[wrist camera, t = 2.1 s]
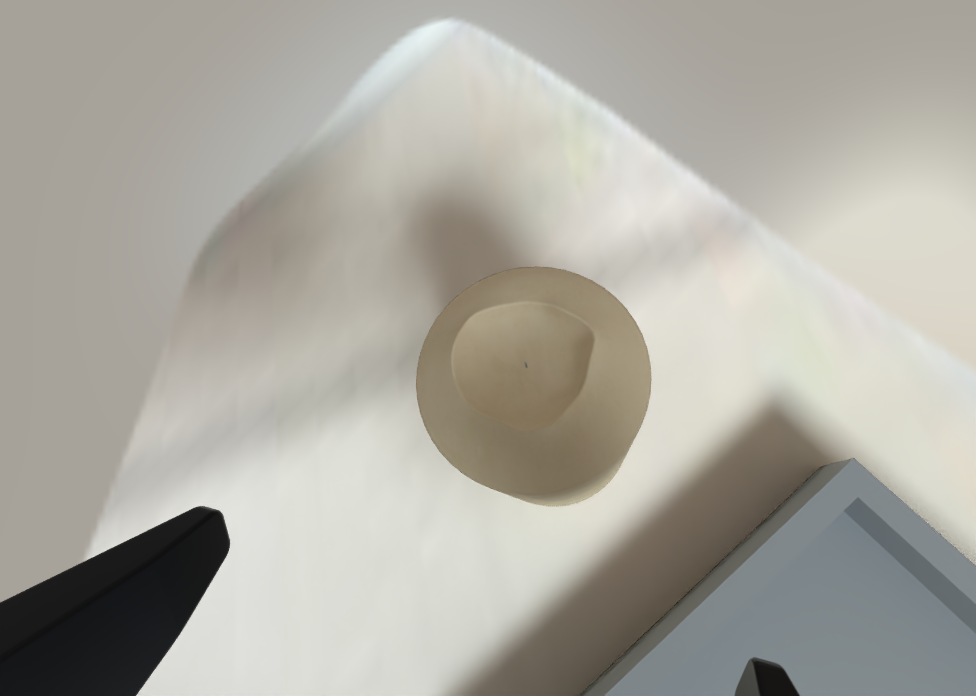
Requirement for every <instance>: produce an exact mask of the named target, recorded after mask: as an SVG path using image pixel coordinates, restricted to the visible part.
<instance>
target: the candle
mask: <svg viewBox="0 0 976 696" xmlns="http://www.w3.org/2000/svg"><path fill="white" fill-rule="evenodd" d="M416 388H417V400H418V405H419V409H420V414H421V417H422V419H423V422H424V425H425V428H426V430H427V432H428V434H429V435H430V437H431V439H432V441H433V442H434V444H435V445H436V447H437V448H438V450H439V451H440V453H441V454H442V455H443V456H444V457H445V458H446V459H447V460H448V461H449V462H450V463H451V464H452V465H453V466H454V467H455V468H457V469H458V470H459V471H460V472H461V473H463V474H464V475H466V476H467V477H469V478H471V479H472V480H474V481H476V482H478V483H480V484H482V485H484V486H487V487H489V488H491V489H494V490H496V491H499V492H502V493H504V494H507V495H510V496H512V497H515V498H518V499H521V500H523V501H526V502H529V503H533V504H536V505H543V506H566V505H571V504H575V503H578V502H581V501H583V500H586V499H588V498H590V497H591V496H593V495H595V494H596V493H598V492H599V491H600V490H601V489H603V488H604V487H605V486H606V485H607V484H608V483H609V482H610V481H611V479H612V478H613V477H614V476H615V474H616V473H617V471H618V470H619V468H620V466H621V464H622V462H623V460H624V459H625V457H626V455H627V453H628V451H629V449H630V447H631V445H632V443H633V441H634V439H635V437H636V435H637V433H638V431H639V429H640V427H641V425H642V422H643V419H644V417H645V414H646V411H647V408H648V403H649V398H650V392H651V366H650V359H649V355H648V350H647V346H646V344H645V341H644V338H643V335H642V333H641V331H640V329H639V327H638V326H637V324H636V322H635V320H634V319H633V317H632V316H631V314H630V313H629V312H628V310H627V309H626V308H625V307H624V306H623V305H622V304H621V302H620V301H619V300H618V299H617V298H616V297H615V296H613V295H612V294H611V293H610V292H608V291H607V290H606V289H605V288H603V287H602V286H600V285H598V284H597V283H595V282H593V281H592V280H590V279H587V278H585V277H583V276H581V275H578V274H575V273H572V272H569V271H566V270H561V269H555V268H548V267H525V268H517V269H512V270H507V271H504V272H500V273H497V274H494V275H492V276H489V277H487V278H485V279H482V280H480V281H479V282H477V283H475V284H474V285H472V286H470V287H468V288H467V289H466V290H464V291H463V292H462V293H461V294H459V295H458V296H457V297H456V298H455V299H454V300H453V301H451V302H450V303H449V304H448V305H447V306H446V308H445V309H444V310H443V311H442V313H441V314H440V315H439V316H438V318H437V319H436V321H435V322H434V324H433V326H432V327H431V329H430V331H429V333H428V335H427V337H426V339H425V341H424V344H423V347H422V350H421V353H420V357H419V362H418V368H417V380H416Z"/></svg>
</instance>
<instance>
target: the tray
mask: <svg viewBox="0 0 976 696" xmlns="http://www.w3.org/2000/svg"><path fill="white" fill-rule="evenodd" d="M753 657H756V658H760V659H764V660H767V661H771V662H775V663H777V664H779V665H781V666H782V667H783V668H784V669H785V671H786V672H787V674H788V676H789V677H790V679H791V681H792V682H793V684H794V686H795V688H796V689H797V691H798V693H799V694H800V696H976V566H975V565H974V564H973V563H972V562H971V561H969V560H968V559H967V558H966V557H965V556H964V555H963V554H962V553H960V552H959V551H958V550H957V549H956V548H955V547H954V546H952V545H951V544H950V543H949V542H948V541H947V540H946V539H945V538H943V537H942V536H941V535H940V534H939V533H938V532H937V531H936V530H934V529H933V528H932V527H931V526H930V525H929V524H928V523H926V522H925V521H924V520H923V519H922V518H921V517H920V516H919V515H917V514H916V513H915V512H914V511H913V510H912V509H911V508H910V507H908V506H907V505H906V504H905V503H904V502H903V501H902V500H900V499H899V498H898V497H897V496H896V495H895V494H894V493H893V492H891V491H890V490H889V489H888V488H887V487H886V486H885V485H883V484H882V483H881V482H880V481H879V480H878V479H877V478H876V477H874V476H873V475H872V474H871V473H870V472H869V471H868V470H867V469H865V468H864V467H863V466H862V465H861V464H860V463H859V462H857V461H856V460H855V459H854V458H853V459H849V460H845V461H841V462H837V463H833V464H829V465H825V466H821V467H820V468H819V469H818V470H817V471H816V472H815V473H814V474H813V475H812V476H811V477H810V478H809V479H808V480H807V481H806V482H804V483H803V484H802V485H801V486H800V487H799V488H798V489H797V490H796V491H795V492H794V493H793V494H792V495H791V496H790V497H789V498H788V499H787V500H785V501H784V502H783V503H782V504H781V505H780V506H779V507H778V508H777V509H776V510H775V511H774V512H773V513H772V514H771V515H770V516H769V517H768V518H766V519H765V520H764V521H763V522H762V523H761V524H760V525H759V526H758V527H757V528H756V529H755V530H754V531H753V532H752V533H751V534H750V535H748V536H747V537H746V538H745V539H744V540H743V541H742V542H741V543H740V544H739V545H738V546H737V547H736V548H735V549H734V550H733V551H732V552H731V553H729V554H728V555H727V556H726V557H725V558H724V559H723V560H722V561H721V562H720V563H719V564H718V565H717V566H716V567H715V568H714V569H713V570H712V571H710V572H709V573H708V574H707V575H706V576H705V577H704V578H703V579H702V580H701V581H700V582H699V583H698V584H697V585H696V586H695V587H694V588H693V589H691V590H690V591H689V592H688V593H687V594H686V595H685V596H684V597H683V598H682V599H681V600H680V601H679V602H678V603H677V604H676V605H675V606H674V607H672V608H671V609H670V610H669V611H668V612H667V613H666V614H665V615H664V616H663V617H662V618H661V619H660V620H659V621H658V622H657V623H656V624H655V625H653V626H652V627H651V628H650V629H649V630H648V631H647V632H646V633H645V634H644V635H643V636H642V637H641V638H640V639H639V640H638V641H637V642H636V643H634V644H633V645H632V646H631V647H630V648H629V649H628V650H627V651H626V652H625V653H624V654H623V655H622V656H621V657H620V658H619V659H618V660H617V661H615V662H614V663H613V664H612V665H611V666H610V667H609V668H608V669H607V670H606V671H605V672H604V673H603V674H602V675H601V676H600V677H599V678H598V679H596V680H595V681H594V682H593V683H592V684H591V685H590V686H589V687H588V688H587V689H586V690H585V691H584V692H583V693H582V694H581V695H580V696H735V691H736V688H737V685H738V683H739V681H740V678H741V676H742V674H743V671H744V669H745V667H746V665H747V662H748V661H749V659H751V658H753Z"/></svg>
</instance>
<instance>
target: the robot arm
mask: <svg viewBox="0 0 976 696" xmlns="http://www.w3.org/2000/svg"><path fill="white" fill-rule="evenodd" d="M229 548H230V539H229V535H228V531H227V527H226V524H225V520H224V516H223V514H222V513H221V512H220V511H219V510H216V509H212V508H209V507H205V506H199V507H195V508H193V509H191V510H189V511H187V512H185V513H183V514H181V515H179V516H176V517H174V518H172V519H170V520H168V521H166V522H164V523H162V524H160V525H158V526H156V527H154V528H152V529H150V530H148V531H146V532H144V533H142V534H140V535H138V536H136V537H134V538H131V539H129V540H127V541H125V542H123V543H121V544H119V545H117V546H115V547H113V548H111V549H109V550H107V551H105V552H103V553H101V554H99V555H97V556H95V557H93V558H91V559H88V560H86V561H84V562H82V563H80V564H78V565H76V566H74V567H72V568H70V569H68V570H66V571H64V572H62V573H60V574H58V575H56V576H54V577H52V578H50V579H48V580H46V581H43V582H42V583H39V584H37V585H35V586H33V587H31V588H29V589H27V590H25V591H23V592H21V593H19V594H17V595H15V596H13V597H11V598H9V599H7V600H5V601H3V602H1V603H0V696H136V695H137V694H138V692H139V691H140V689H141V688H142V687H143V685H144V684H145V682H146V681H147V680H148V678H149V677H150V676H151V674H152V673H153V671H154V670H155V669H156V667H157V666H158V664H159V663H160V662H161V660H162V659H163V657H164V656H165V655H166V653H167V652H168V650H169V649H170V648H171V646H172V645H173V643H174V642H175V640H176V639H177V638H178V636H179V635H180V633H181V631H182V630H183V628H184V627H185V625H186V624H187V622H188V620H189V619H190V617H191V615H192V614H193V612H194V610H195V608H196V607H197V605H198V603H199V602H200V600H201V598H202V597H203V595H204V593H205V592H206V590H207V588H208V587H209V585H210V583H211V581H212V580H213V578H214V576H215V575H216V573H217V571H218V570H219V568H220V566H221V565H222V563H223V561H224V559H225V558H226V556H227V554H228V551H229ZM735 696H800V694H799V693H798V691H797V689H796V688H795V686H794V684H793V682H792V681H791V679H790V677H789V676H788V674H787V672H786V671H785V669H784V668H783V667H782V666H781V665H779V664H777V663H775V662H771V661H767V660H764V659H760V658H756V657H753V658H751V659H749V661H748V662H747V665H746V667H745V669H744V671H743V674H742V676H741V678H740V681H739V683H738V685H737V688H736V691H735Z"/></svg>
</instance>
